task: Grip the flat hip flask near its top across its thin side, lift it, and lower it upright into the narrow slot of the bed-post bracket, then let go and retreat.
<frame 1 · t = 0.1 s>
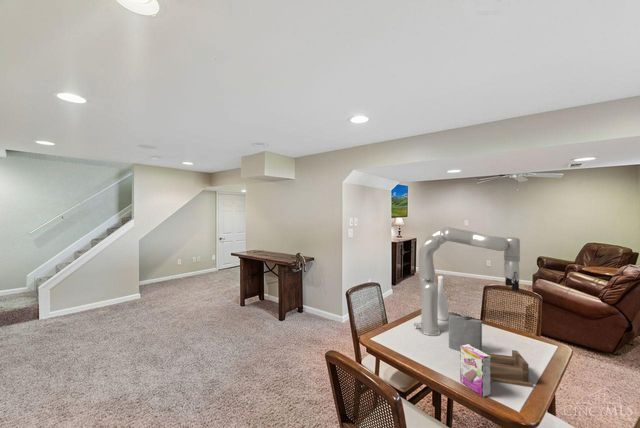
hand: (511, 287, 156), 31 cm above the table, fingers open, 9 cm apart
post bracket: (495, 372, 125), on the table
hip flask: (464, 351, 145), on the table
candy bar box: (474, 388, 115), on the table
white piece: (440, 318, 190), on the table
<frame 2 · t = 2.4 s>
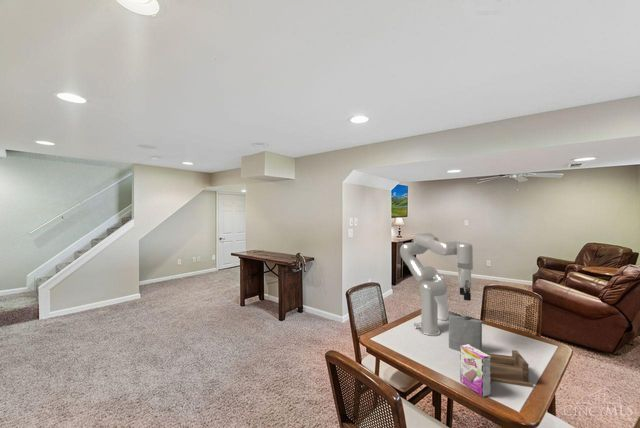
hand: (465, 297, 145), 29 cm above the table, fingers open, 9 cm apart
nothing on the table moved.
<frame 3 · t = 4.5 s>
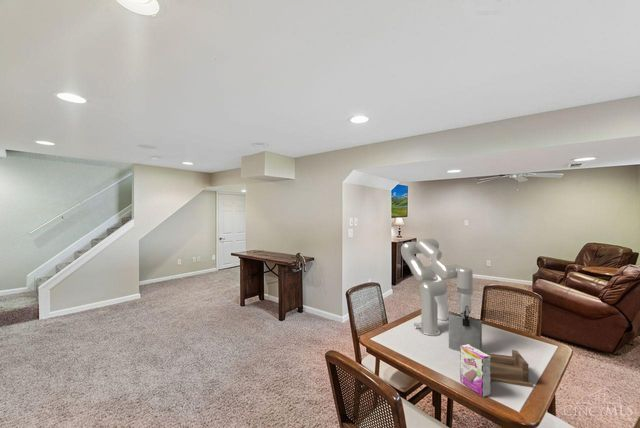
hand: (464, 323, 145), 15 cm above the table, fingers closed on hip flask, 4 cm apart
hip flask: (464, 351, 145), on the table, touching gripper
everything else where it was.
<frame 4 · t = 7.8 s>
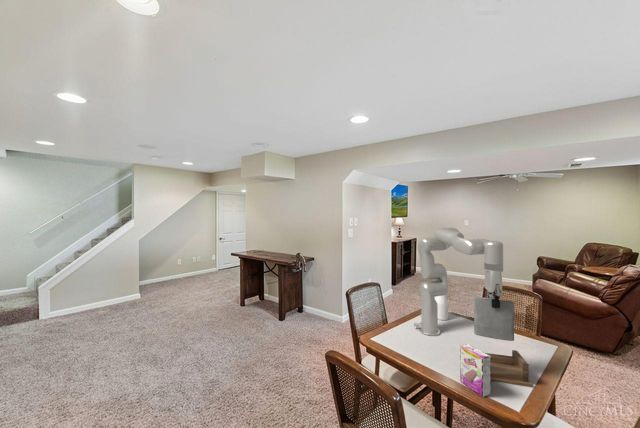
hand: (493, 305, 126), 32 cm above the table, fingers closed on hip flask, 4 cm apart
hip flask: (493, 337, 126), point 16 cm above the table, touching gripper
everything else where it was.
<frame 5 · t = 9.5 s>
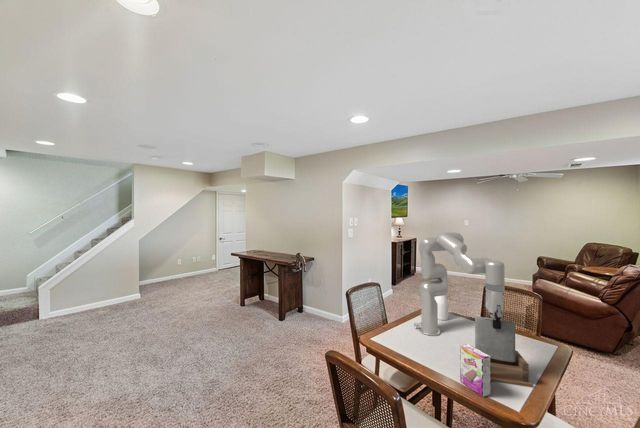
hand: (494, 325, 125), 22 cm above the table, fingers closed on hip flask, 4 cm apart
hip flask: (494, 357, 125), point 7 cm above the table, touching gripper
everything else where it was.
when the fingers open (17 cm above the table, at t = 11.0 s): hip flask stays where it is, resting on post bracket.
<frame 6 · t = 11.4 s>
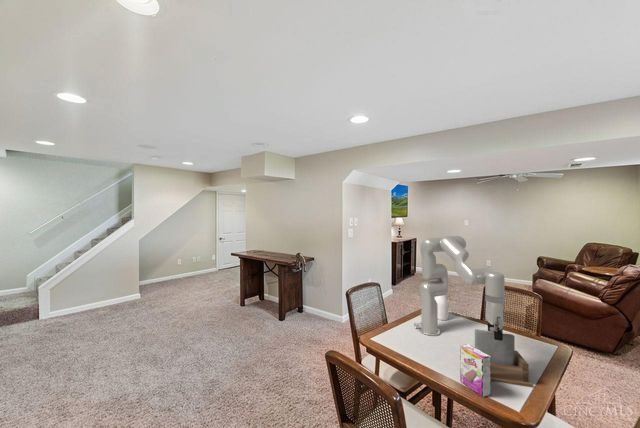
hand: (494, 335, 125), 18 cm above the table, fingers open, 8 cm apart
hip flask: (494, 370, 126), point 1 cm above the table, touching post bracket
everything else where it was.
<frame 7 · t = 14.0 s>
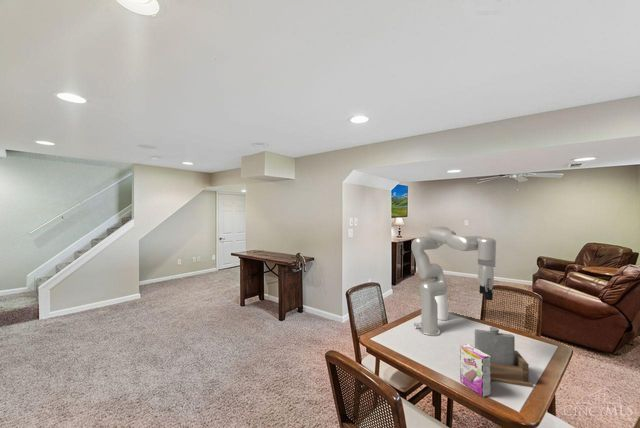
hand: (485, 296, 134), 33 cm above the table, fingers open, 9 cm apart
nothing on the table moved.
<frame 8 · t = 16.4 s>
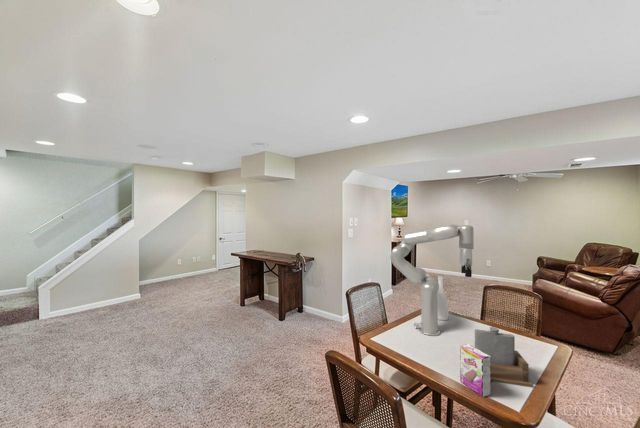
hand: (466, 275, 158), 38 cm above the table, fingers open, 9 cm apart
nothing on the table moved.
at the end: hip flask 0.2 cm off-centre on the post bracket, point 0.8 cm above the post bracket's base; hip flask tilted 0°; the gripper is holding nothing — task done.
